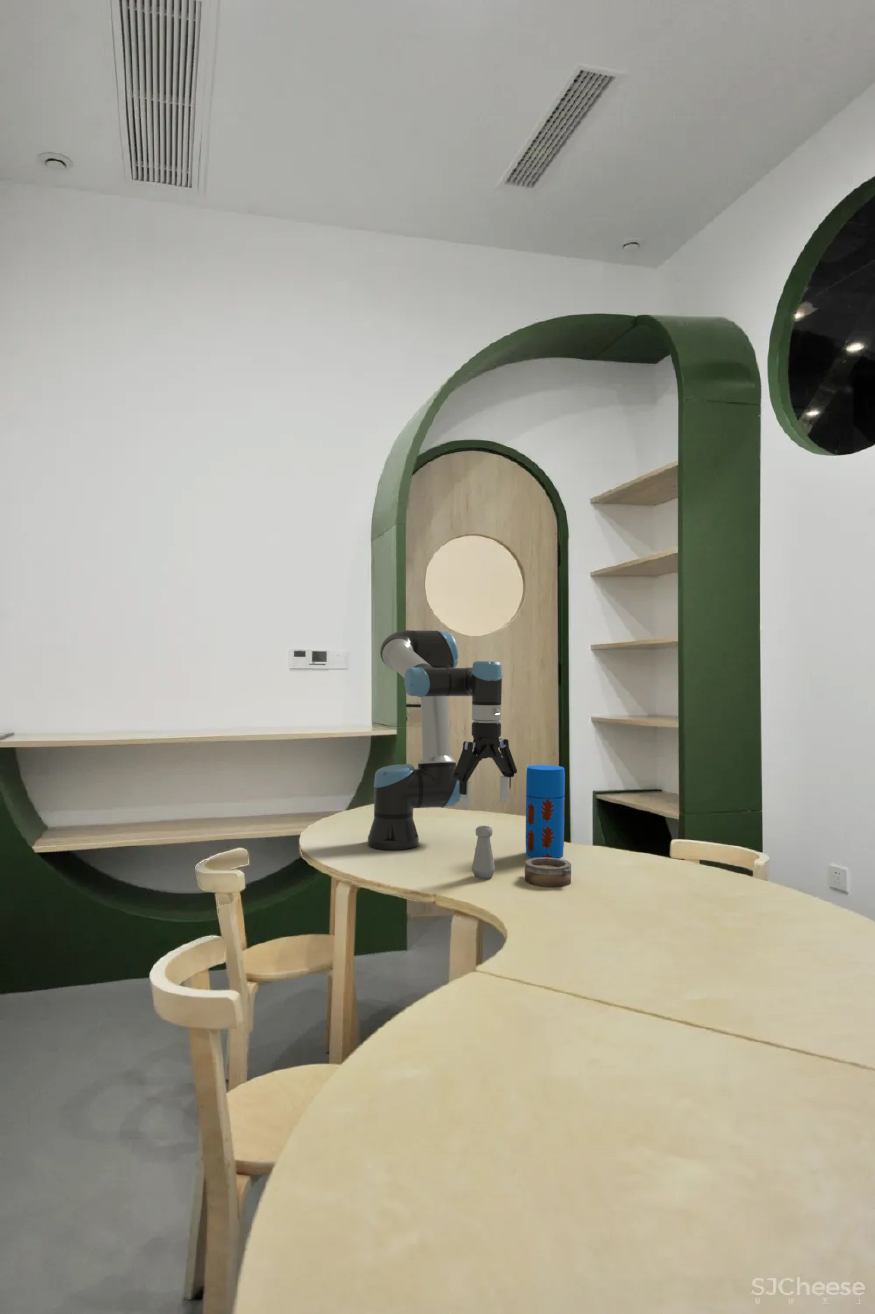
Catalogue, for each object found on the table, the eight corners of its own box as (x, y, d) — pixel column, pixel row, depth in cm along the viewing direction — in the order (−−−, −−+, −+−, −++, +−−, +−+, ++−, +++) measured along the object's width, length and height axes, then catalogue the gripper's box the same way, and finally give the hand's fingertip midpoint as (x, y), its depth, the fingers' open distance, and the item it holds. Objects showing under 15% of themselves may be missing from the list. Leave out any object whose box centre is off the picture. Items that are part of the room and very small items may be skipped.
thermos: (565, 860, 229) (567, 770, 229) (527, 859, 229) (528, 769, 229) (560, 850, 240) (561, 765, 240) (524, 850, 240) (525, 764, 240)
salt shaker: (493, 881, 206) (493, 829, 206) (470, 879, 208) (471, 828, 208) (496, 875, 212) (496, 824, 212) (474, 873, 213) (474, 823, 213)
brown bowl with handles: (511, 878, 209) (511, 860, 209) (543, 871, 217) (543, 854, 217) (552, 891, 198) (553, 872, 198) (584, 883, 206) (584, 865, 206)
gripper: (459, 724, 199) (458, 812, 199) (531, 720, 215) (530, 801, 215) (439, 722, 205) (438, 807, 205) (510, 718, 221) (509, 797, 221)
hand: (485, 804), depth 210 cm, fingers open, 13 cm apart
